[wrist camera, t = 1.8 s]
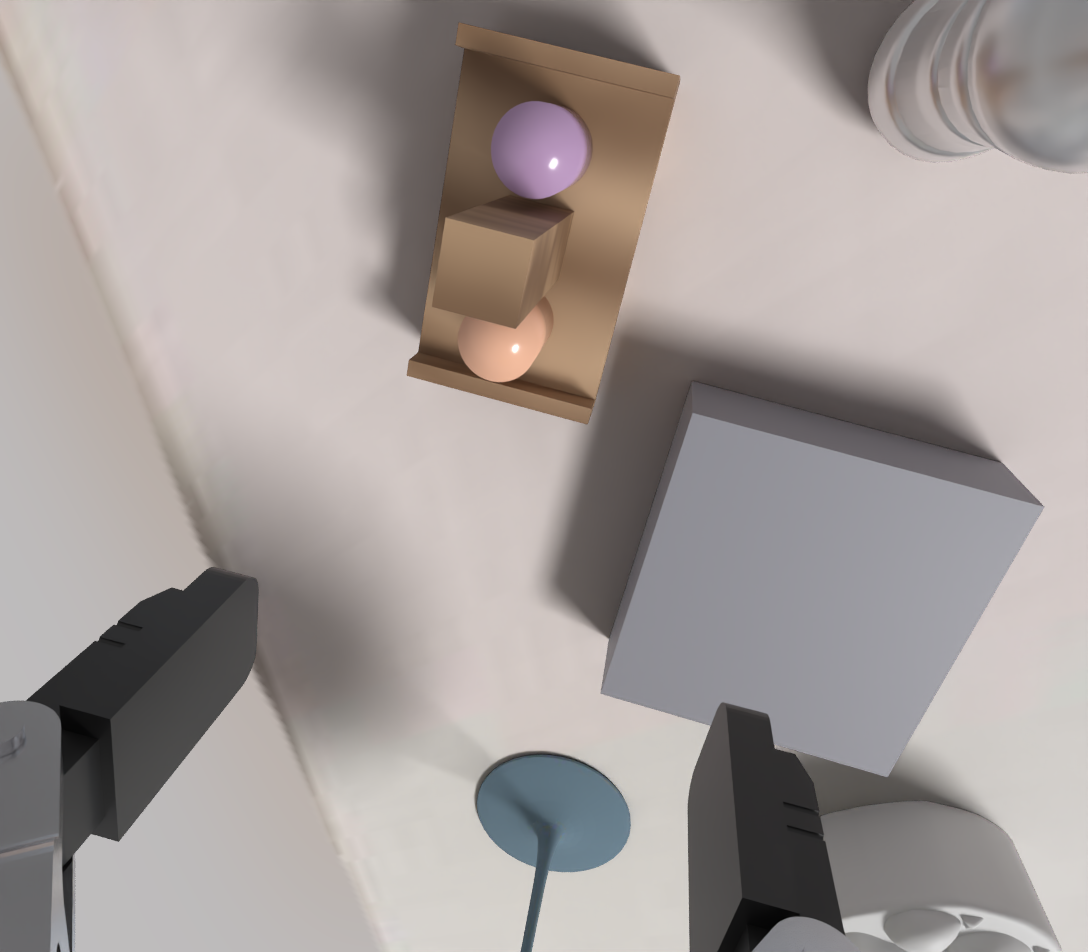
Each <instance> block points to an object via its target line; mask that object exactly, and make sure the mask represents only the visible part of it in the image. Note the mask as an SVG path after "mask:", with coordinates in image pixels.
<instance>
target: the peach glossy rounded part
mask: <svg viewBox="0 0 1088 952" xmlns="http://www.w3.org/2000/svg"><path fill="white" fill-rule="evenodd" d="M553 323H554V318H553V311H552V308H551V305H550V303H549V301H548V300H547V298H546V297H545V296H544V297H543V298H542V299H541V300H540V301H539V302H538V304H537V305H536V306H535V307H534V308H533V309H532V311H531V312H530V313H529V314H528V315H527V316H526V317H525V319H524V320H523V321H522V322H521V323H520V324H519V326H518V327H517V328H516V329H514V328H510V327H506V326H502V325H499V324H495V323H491V322H487V321H483V320H480V319H476V318H472V317H468V316H466V317H465V318H464V320H463V321H462V323H461V326H460V328H459V332H458V347H459V351H460V354H461V357H462V359H463V360H464V362H465V364H466V365H467V366H468V367H469V368H470V370H471V371H473V372H474V373H475V374H476V375H478V376H479V377H481V378H483V379H486V380H489V381H493V382H506V381H511V380H514V379H516V378H518V377H520V376H521V375H523V374H524V373H525V372H526V371H527V370H528V369H529V368H530V366H531V365H532V363H533V362H534V360H535V358H536V357H537V355H538V354H539V352H540V351H541V349H542V348H543V346H544V345H545V343H546V342H547V340H548V339H549V337H550V335H551V333H552V329H553Z"/></svg>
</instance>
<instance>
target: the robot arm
mask: <svg viewBox="0 0 1088 952" xmlns="http://www.w3.org/2000/svg"><path fill="white" fill-rule="evenodd" d="M258 591H259V590H258V582H257V580H256V579H255V578H253V577H249V576H246V575H242V574H238V573H234V572H230V571H226V570H223V569H219V568H215V567H211V568H209V569H207V570H206V571H204V572H203V573H202V574H201V575H200V576H199V577H198V578H197V579H196V580H194V581H193V582H192V583H191V584H190V585H189V586H188V587H187V588H186V589H185V590H184V591H182V590H178V589H175V588H170V589H168V590H165V591H163V592H161V593H159V594H156V595H154V596H152V597H150V598H147V599H145V600H143V601H141V602H139V603H138V604H137V605H136V606H135V607H134V608H133V609H131V610H130V611H129V612H128V613H127V614H126V615H124V616H123V617H122V618H121V619H120V620H119V621H118V624H117V625H113V626H112V627H110V628H109V629H108V630H107V631H106V632H105V633H104V634H102V635H101V636H100V638H99V641H98V642H97V641H94V642H93V643H92V644H91V645H90V646H89V647H87V649H85V650H84V651H83V652H82V653H80V654H79V655H78V656H77V657H76V658H75V659H74V660H72V661H71V662H70V663H69V664H68V665H67V666H65V667H64V668H63V669H62V670H61V671H60V672H58V673H57V674H56V675H55V676H54V677H53V678H52V679H50V680H49V681H48V682H47V683H46V684H45V685H43V686H42V687H41V688H40V689H39V690H38V691H36V692H35V693H34V694H33V695H32V696H31V697H30V698H28V699H27V700H26V701H7V702H1V703H0V952H75V855H74V853H75V852H76V851H77V850H78V849H79V847H80V846H81V845H82V844H83V843H84V841H85V840H86V839H87V837H89V835H90V834H94V835H98V836H101V837H105V838H108V839H111V840H115V841H118V842H119V841H120V839H121V838H122V837H123V836H124V834H125V833H126V832H127V831H128V829H129V828H130V827H131V826H132V824H133V823H134V822H135V820H136V819H137V818H138V817H139V815H140V814H141V813H142V812H143V810H144V809H145V808H146V807H147V805H148V804H149V803H150V802H151V800H152V799H153V798H154V797H155V795H156V794H157V793H158V792H159V790H160V789H161V788H162V786H163V785H164V784H165V782H166V781H167V780H168V779H169V777H170V776H171V775H172V774H173V773H174V771H175V770H176V769H177V768H178V766H179V765H180V764H181V762H182V761H183V760H184V759H185V757H186V756H187V755H188V754H189V752H190V751H191V750H192V749H193V747H194V746H195V745H196V743H197V742H198V741H199V740H200V739H201V737H202V736H203V735H204V734H205V732H206V731H207V730H208V728H209V727H210V726H211V725H212V723H213V722H214V721H215V720H216V718H217V717H218V716H219V715H220V713H221V712H222V711H223V710H224V708H225V707H226V706H227V705H228V703H229V702H230V701H231V699H232V698H233V697H234V696H235V694H236V693H237V692H238V691H239V689H240V688H241V687H242V685H243V684H244V682H245V681H246V679H247V677H248V675H249V673H250V671H251V668H252V665H253V662H254V659H255V654H256V643H257V617H258ZM818 814H819V808H818V803H817V799H816V794H815V789H814V784H813V782H812V780H811V778H810V777H809V775H808V774H807V772H806V771H805V769H804V768H803V766H802V764H801V763H800V761H799V760H798V758H797V757H796V755H795V754H792V753H788V752H784V751H781V750H777V749H775V748H774V742H773V735H772V729H771V723H770V718H769V716H768V714H766V713H763V712H759V711H755V710H751V709H747V708H744V707H740V706H736V705H732V704H728V703H725V702H722V703H721V704H720V705H719V707H718V709H717V711H716V713H715V716H714V719H713V721H712V724H711V727H710V729H709V732H708V735H707V737H706V740H705V742H704V745H703V748H702V750H701V753H700V756H699V758H698V761H697V764H696V766H695V769H694V772H693V776H692V780H691V785H690V790H689V797H688V865H689V936H690V952H861V951H860V950H859V949H858V948H857V946H856V945H855V944H854V943H853V942H851V941H850V940H849V939H848V938H847V937H846V935H845V932H844V928H843V923H842V918H841V914H840V909H839V904H838V899H837V894H836V890H835V885H834V880H833V875H832V870H831V866H830V861H829V856H828V851H827V846H826V842H825V841H823V837H824V832H823V827H822V823H821V818H820V817H819V816H818Z"/></svg>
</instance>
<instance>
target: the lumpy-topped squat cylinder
mask: <svg viewBox="0 0 1088 952" xmlns="http://www.w3.org/2000/svg"><path fill="white" fill-rule="evenodd" d="M820 818H821V823H822V827H823V832H824V837H823V841H825V842H826V846H827V851H828V856H829V861H830V866H831V870H832V875H833V880H834V885H835V890H836V894H837V899H838V904H839V909H840V914H841V918H842V923H843V928H844V932H845V935H846V937H847V938H848V939H849V940H850V941H851V942H853V943H854V944H855V945H856V946H857V948H858V949H859V950H860V951H861V952H1062V949H1061V946H1060V944H1059V942H1058V940H1057V938H1056V935H1055V933H1054V931H1053V929H1052V926H1051V924H1050V922H1049V920H1048V918H1047V915H1046V913H1045V911H1044V909H1043V907H1042V905H1041V902H1040V900H1039V898H1038V895H1037V893H1036V891H1035V889H1034V887H1033V885H1032V882H1031V880H1030V878H1029V876H1028V874H1027V871H1026V869H1025V867H1024V865H1023V863H1022V861H1021V858H1020V856H1019V854H1018V852H1017V850H1016V847H1015V845H1014V843H1013V841H1012V839H1011V838H1010V837H1009V836H1008V834H1007V833H1006V832H1004V831H1003V830H1002V829H1001V828H999V827H998V826H997V825H995V824H994V823H992V822H990V821H989V820H987V819H985V818H983V817H981V816H979V815H977V814H974V813H972V812H969V811H965V810H962V809H958V808H955V807H951V806H946V805H942V804H938V803H933V802H927V801H903V802H891V803H882V804H874V805H867V806H861V807H856V808H851V809H847V810H842V811H837V812H832V813H829V814H825V815H822V816H820Z"/></svg>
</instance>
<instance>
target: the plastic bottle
mask: <svg viewBox="0 0 1088 952" xmlns="http://www.w3.org/2000/svg"><path fill="white" fill-rule="evenodd" d="M867 90H868V105H869V109H870V113H871V117H872V119H873V121H874V123H875V125H876V127H877V129H878V131H879V132H880V133H881V135H882V136H883V137H884V138H885V139H886V140H887V142H888V143H889V144H890V145H891V146H892V147H894V148H895V149H897V150H898V151H899V152H901V153H902V154H904V155H906V156H909V157H911V158H914V159H916V160H921V161H927V162H933V163H936V162H952V161H957V160H961V159H965V158H969V157H972V156H976V155H979V154H981V153H984V152H986V151H988V150H991V149H993V148H996V149H998V150H1000V151H1002V152H1003V153H1005V154H1007V155H1009V156H1011V157H1012V158H1014V159H1017V160H1019V161H1022V162H1024V163H1027V164H1029V165H1032V166H1034V167H1039V168H1042V169H1046V170H1052V171H1058V172H1064V173H1088V0H915V1H914V2H913V3H912V4H911V5H910V6H909V7H908V8H907V9H906V10H905V11H904V12H903V13H902V14H901V15H900V16H899V17H898V18H897V20H896V21H895V22H894V24H893V25H892V26H891V28H890V29H889V30H888V32H887V33H886V35H885V37H884V39H883V41H882V43H881V45H880V47H879V49H878V51H877V53H876V54H875V57H874V60H873V63H872V66H871V69H870V73H869V80H868V87H867Z"/></svg>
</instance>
